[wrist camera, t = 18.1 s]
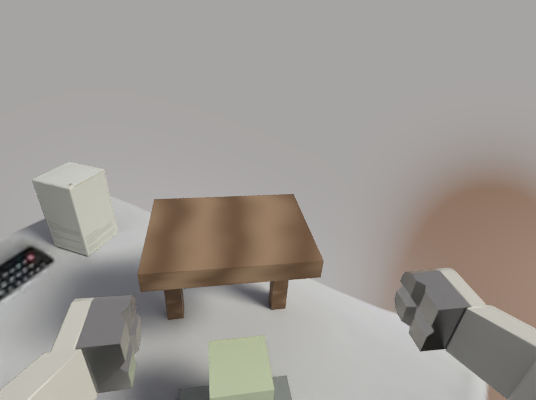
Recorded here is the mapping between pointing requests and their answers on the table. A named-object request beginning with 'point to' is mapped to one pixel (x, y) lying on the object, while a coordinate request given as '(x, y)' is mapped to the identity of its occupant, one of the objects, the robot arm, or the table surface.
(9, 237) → the table surface
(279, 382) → the slate mat
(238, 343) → the sage block
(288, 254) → the shelf stand
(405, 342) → the table surface
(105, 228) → the supplement box
